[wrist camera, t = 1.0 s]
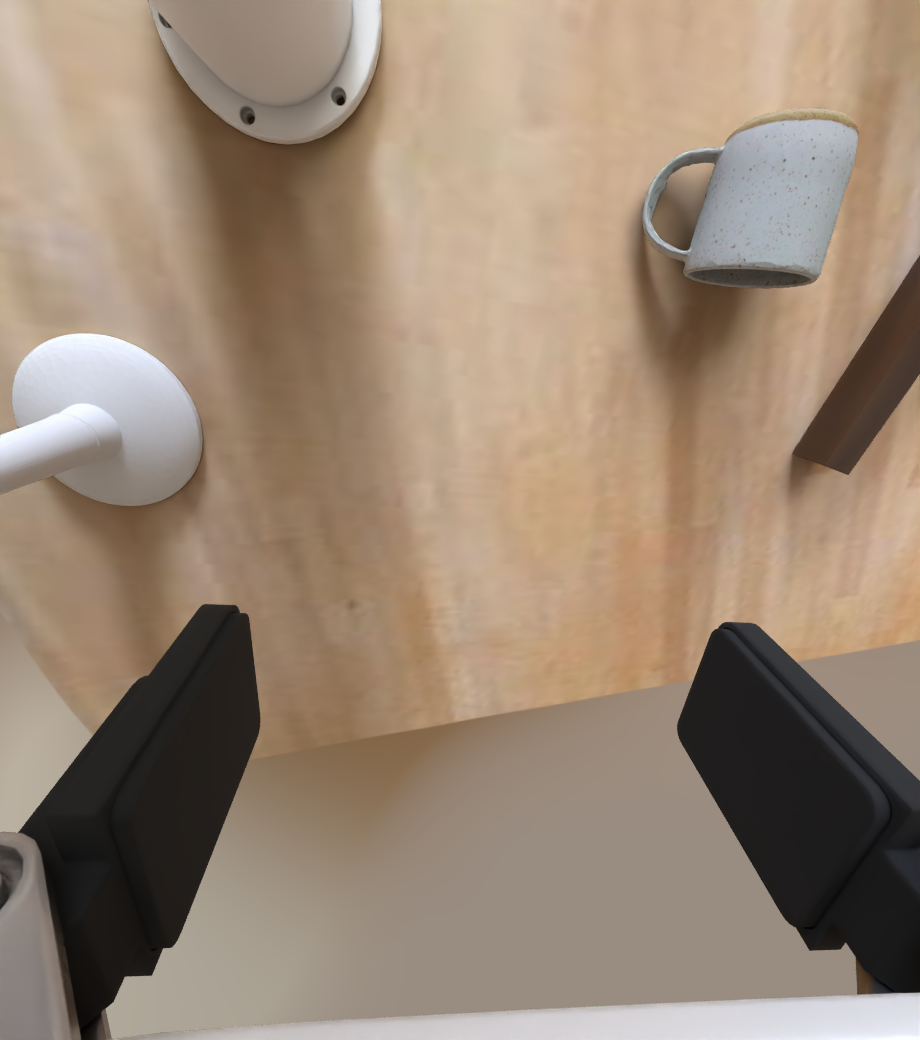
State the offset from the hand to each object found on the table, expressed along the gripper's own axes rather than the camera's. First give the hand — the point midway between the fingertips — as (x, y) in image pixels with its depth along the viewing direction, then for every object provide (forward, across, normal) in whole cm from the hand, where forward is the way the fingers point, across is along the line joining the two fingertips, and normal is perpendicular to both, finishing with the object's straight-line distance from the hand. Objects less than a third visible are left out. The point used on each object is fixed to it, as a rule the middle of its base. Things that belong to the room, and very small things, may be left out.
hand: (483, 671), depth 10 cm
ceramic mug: (+30, -18, -14) cm, 37 cm away
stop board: (+29, -34, -9) cm, 46 cm away
